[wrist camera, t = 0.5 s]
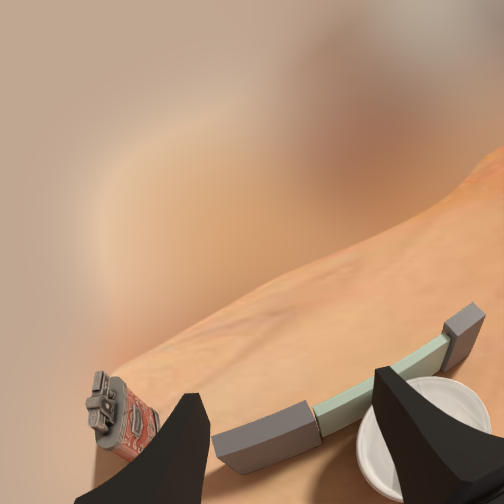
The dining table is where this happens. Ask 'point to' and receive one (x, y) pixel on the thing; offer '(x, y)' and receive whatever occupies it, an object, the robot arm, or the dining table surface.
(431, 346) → the door
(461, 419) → the ramekin
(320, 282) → the dining table surface
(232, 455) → the grey angled pieces
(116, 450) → the lighter
